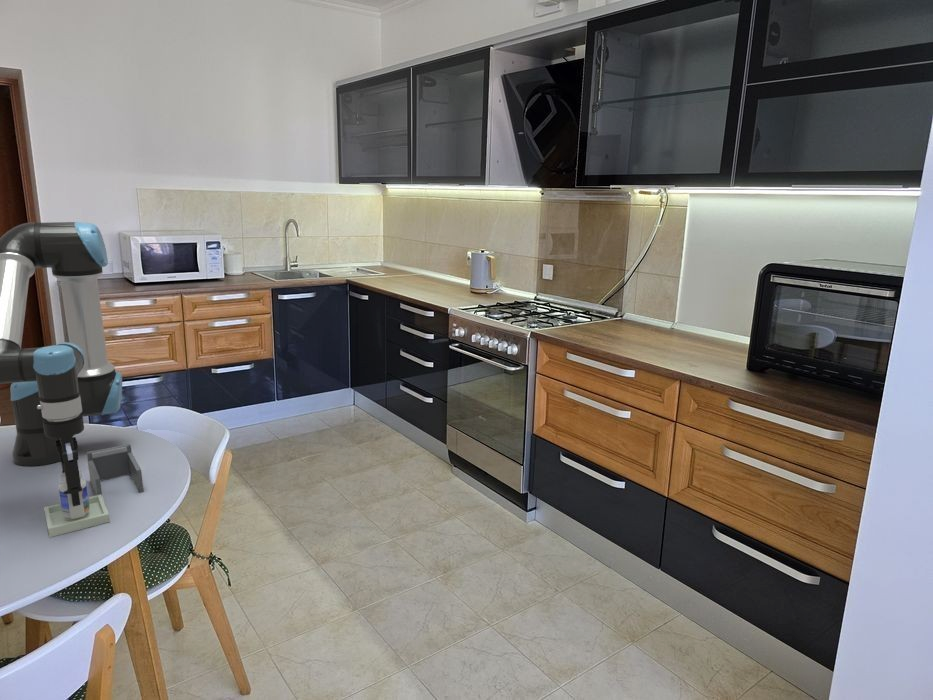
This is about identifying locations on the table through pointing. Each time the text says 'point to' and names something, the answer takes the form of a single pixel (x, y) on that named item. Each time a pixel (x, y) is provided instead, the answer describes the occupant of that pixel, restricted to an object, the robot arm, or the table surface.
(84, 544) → the table surface
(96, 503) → the tray
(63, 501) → the pill bottle
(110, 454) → the bay
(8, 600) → the table surface
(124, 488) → the table surface
